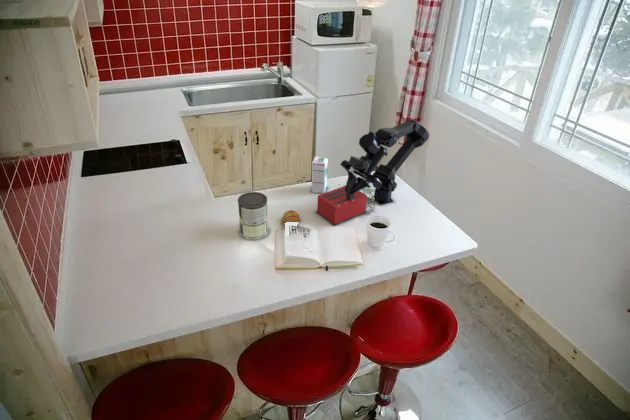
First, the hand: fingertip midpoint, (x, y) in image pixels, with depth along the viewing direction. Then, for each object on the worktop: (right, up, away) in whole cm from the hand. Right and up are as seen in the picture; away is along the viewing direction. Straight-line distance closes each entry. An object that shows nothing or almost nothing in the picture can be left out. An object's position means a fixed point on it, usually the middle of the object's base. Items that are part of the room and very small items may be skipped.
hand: (347, 192), depth 167 cm
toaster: (-2, -8, +8) cm, 12 cm away
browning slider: (+1, -2, +2) cm, 3 cm away
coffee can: (-35, -15, -5) cm, 38 cm away
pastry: (-21, -12, +1) cm, 24 cm away
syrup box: (-11, +2, +23) cm, 26 cm away
